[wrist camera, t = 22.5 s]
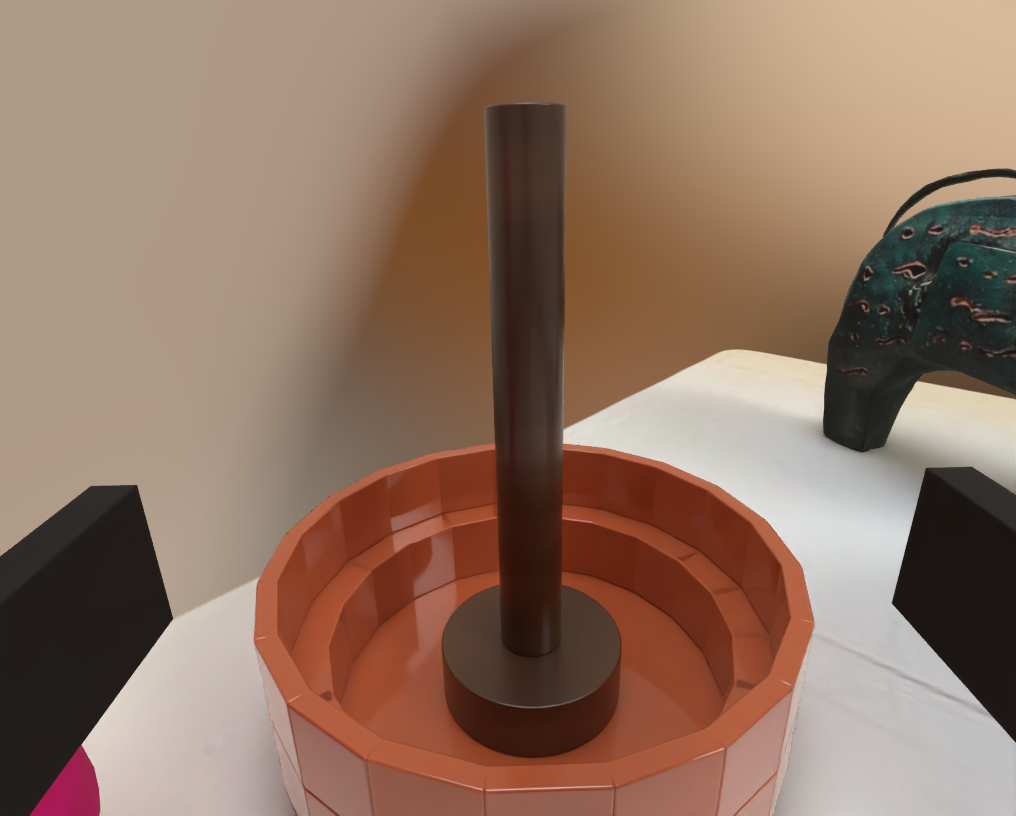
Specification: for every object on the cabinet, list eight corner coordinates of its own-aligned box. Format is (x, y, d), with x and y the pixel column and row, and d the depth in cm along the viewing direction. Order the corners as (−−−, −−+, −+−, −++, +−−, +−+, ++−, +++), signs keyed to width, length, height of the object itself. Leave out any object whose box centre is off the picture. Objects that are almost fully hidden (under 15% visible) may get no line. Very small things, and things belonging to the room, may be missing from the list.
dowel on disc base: (415, 731, 20) (350, 102, 13) (478, 610, 25) (455, 119, 18) (604, 780, 18) (639, 85, 11) (628, 638, 23) (661, 109, 17)
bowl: (163, 858, 17) (107, 688, 15) (416, 536, 31) (406, 426, 29) (820, 1095, 12) (879, 901, 10) (760, 590, 27) (779, 465, 24)
